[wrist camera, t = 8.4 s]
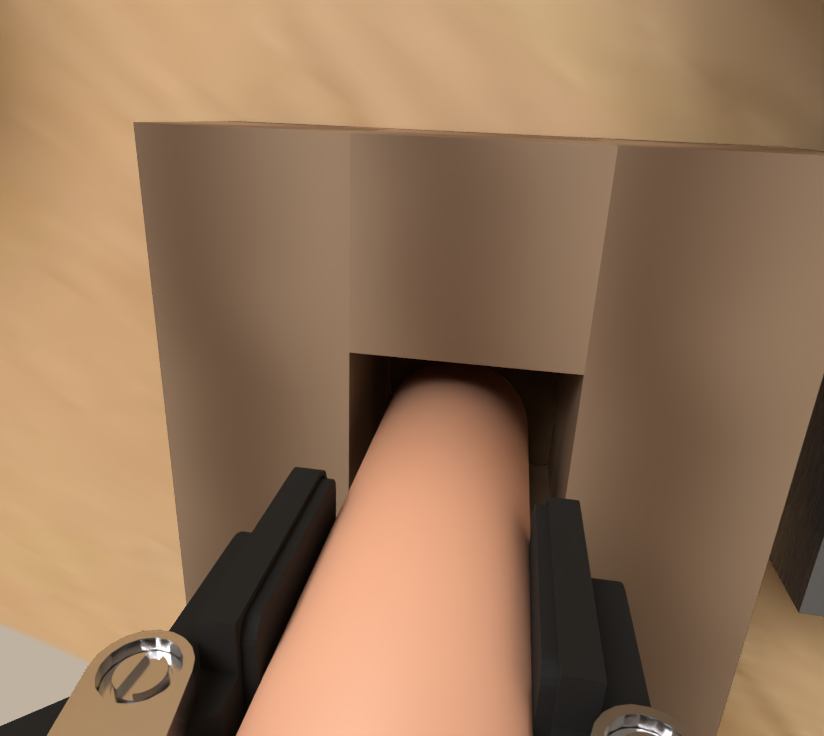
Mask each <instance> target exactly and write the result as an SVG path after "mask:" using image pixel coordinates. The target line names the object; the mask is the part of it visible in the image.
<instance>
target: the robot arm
mask: <svg viewBox="0 0 824 736" xmlns="http://www.w3.org/2000/svg"><path fill="white" fill-rule="evenodd" d="M335 520H336V482H335V480H334V479H329V478H327V475H326V472H325V470H319V469H311V468H302V467H294V469H293V470H292V471H291V473H290V474H289V476H288V477H287V479H286V480H285V482H284V483H283V485H282V487H281V488H280V490H279V491H278V493H277V494H276V496H275V497H274V499H273V500H272V502H271V503H270V505H269V507H268V508H267V510H266V511H265V513H264V514H263V516H262V517H261V519H260V520H259V522H258V524H257V525H256V527H255V528H254V530H253V531H252V532H245V531H241V532H238V533H237V534H236V535H235V536H234V537H233V538H232V540H231V541H230V543H229V544H228V546H227V547H226V549H225V550H224V552H223V553H222V554H221V556H220V557H219V559H218V560H217V562H216V563H215V565H214V566H213V568H212V569H211V570H210V572H209V573H208V575H207V576H206V578H205V579H204V581H203V582H202V584H201V585H200V587H199V588H198V589H197V591H196V592H195V594H194V595H193V597H192V598H191V600H190V601H189V603H188V604H187V605H186V607H185V608H184V610H183V611H182V613H181V614H180V616H179V617H178V619H177V620H176V622H175V623H174V624H173V626H172V627H171V629H170V630H169V631H163V630H151V631H142V632H138V633H135V634H131V635H128V636H125V637H123V638H121V639H119V640H118V641H116V642H114V643H112V644H110V645H109V646H108V647H106V648H105V649H104V650H102V651H101V652H100V653H99V654H97V656H96V657H95V658H94V659H93V661H92V662H91V663H90V664H89V666H88V667H87V669H86V670H85V672H84V674H83V675H82V677H81V679H80V680H79V682H78V684H77V685H76V687H75V689H74V691H73V692H72V694H71V696H70V697H68V698H65V699H63V700H61V701H58V702H56V703H54V704H51V705H49V706H47V707H44V708H42V709H40V710H37V711H35V712H33V713H30V714H28V715H26V716H23V717H21V718H19V719H16V720H14V721H11V722H9V723H7V724H4V725H2V726H0V736H236V735H237V732H238V730H239V728H240V726H241V724H242V722H243V719H244V717H245V715H246V713H247V711H248V709H249V706H250V704H251V702H252V700H253V698H254V696H255V693H256V691H257V689H258V687H259V685H260V683H261V680H262V678H263V676H264V674H265V672H266V670H267V667H268V665H269V663H270V661H271V659H272V657H273V654H274V652H275V650H276V648H277V646H278V644H279V641H280V639H281V637H282V635H283V633H284V631H285V628H286V626H287V624H288V622H289V620H290V618H291V615H292V613H293V611H294V609H295V607H296V605H297V602H298V600H299V598H300V596H301V594H302V592H303V589H304V587H305V585H306V583H307V581H308V579H309V576H310V574H311V572H312V570H313V568H314V566H315V563H316V561H317V559H318V557H319V555H320V553H321V550H322V548H323V546H324V544H325V542H326V539H327V537H328V535H329V533H330V531H331V529H332V526H333V524H334V522H335ZM529 563H530V617H531V672H532V726H533V736H694V735H693V734H692V733H691V732H690V731H689V730H688V729H687V728H686V727H685V726H684V725H683V724H681V723H680V722H678V721H677V720H675V719H674V718H672V717H671V716H669V715H668V714H666V713H663V712H661V711H658V710H656V709H653V708H651V704H650V700H649V695H648V691H647V686H646V681H645V677H644V672H643V668H642V663H641V659H640V654H639V650H638V645H637V641H636V636H635V632H634V627H633V622H632V618H631V613H630V609H629V604H628V600H627V595H626V591H625V588H624V584H623V583H622V582H619V581H612V580H604V579H597V578H591V573H590V566H589V559H588V553H587V546H586V540H585V533H584V527H583V520H582V513H581V507H580V502H579V500H572V499H564V498H556V497H547V500H546V505H545V504H537V503H535V505H534V511H533V519H532V526H531V534H530V542H529Z"/></svg>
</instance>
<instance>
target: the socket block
mask: <svg viewBox="0 0 824 736" xmlns="http://www.w3.org/2000/svg"><path fill="white" fill-rule="evenodd" d="M133 123H134V132H135V141H136V150H137V159H138V168H139V177H140V186H141V195H142V205H143V214H144V223H145V232H146V241H147V250H148V259H149V268H150V277H151V286H152V295H153V304H154V313H155V322H156V331H157V340H158V349H159V358H160V367H161V376H162V385H163V394H164V404H165V413H166V422H167V431H168V440H169V449H170V458H171V467H172V476H173V485H174V494H175V503H176V512H177V521H178V530H179V539H180V548H181V557H182V566H183V575H184V584H185V593H186V603H187V604H188V603H189V601H190V600H191V598H192V597H193V595H194V594H195V592H196V591H197V589H198V588H199V587H200V585H201V584H202V582H203V581H204V579H205V578H206V576H207V575H208V573H209V572H210V570H211V569H212V568H213V566H214V565H215V563H216V562H217V560H218V559H219V557H220V556H221V554H222V553H223V552H224V550H225V549H226V547H227V546H228V544H229V543H230V541H231V540H232V538H233V537H234V536H235V535H236V534H237V533H238V532H241V531H245V532H252V531H253V530H254V528H255V527H256V525H257V524H258V522H259V520H260V519H261V517H262V516H263V514H264V513H265V511H266V510H267V508H268V507H269V505H270V503H271V502H272V500H273V499H274V497H275V496H276V494H277V493H278V491H279V490H280V488H281V487H282V485H283V483H284V482H285V480H286V479H287V477H288V476H289V474H290V473H291V471H292V470H293V469H294V467H302V468H311V469H319V470H325V472H326V475H327V478H329V479H334V480H335V482H336V518H337V516H338V513H339V511H340V509H341V507H342V505H343V503H344V500H345V498H346V496H347V494H348V492H349V490H350V487H351V485H352V483H353V481H354V479H355V477H356V474H357V472H358V470H359V468H360V466H361V464H362V461H363V459H364V457H365V455H366V453H367V451H368V448H369V446H370V444H371V442H372V440H373V438H374V435H375V433H376V431H377V429H378V427H379V425H380V422H381V420H382V418H383V416H384V414H385V412H386V409H387V407H388V405H389V403H390V372H391V357H402V358H412V359H422V360H433V361H443V362H454V363H464V364H474V365H485V366H495V367H506V368H516V369H526V370H537V371H547V372H558V373H560V380H559V388H558V395H557V403H556V410H555V417H554V425H553V432H552V440H551V447H550V454H549V462H548V466H543V465H535V464H529V502H530V534H531V526H532V519H533V511H534V505H535V503H537V504H545V505H546V500H547V497H556V498H564V499H572V500H579V502H580V507H581V513H582V520H583V527H584V533H585V540H586V546H587V553H588V559H589V566H590V573H591V578H597V579H604V580H612V581H619V582H622V583H623V584H624V588H625V591H626V595H627V600H628V604H629V609H630V613H631V618H632V622H633V627H634V632H635V636H636V641H637V645H638V650H639V654H640V659H641V663H642V668H643V672H644V677H645V681H646V686H647V691H648V695H649V700H650V704H651V708H653V709H656V710H658V711H661V712H663V713H666V714H668V715H669V716H671V717H672V718H674V719H675V720H677V721H678V722H680V723H681V724H683V725H684V726H685V727H686V728H687V729H688V730H689V731H690V732H691V733H692V734H693V735H694V736H716V735H717V731H718V728H719V725H720V721H721V718H722V715H723V711H724V708H725V705H726V701H727V698H728V694H729V691H730V688H731V684H732V681H733V678H734V674H735V671H736V667H737V664H738V661H739V657H740V654H741V651H742V647H743V644H744V640H745V637H746V634H747V630H748V627H749V624H750V620H751V617H752V614H753V610H754V607H755V603H756V600H757V597H758V593H759V590H760V587H761V583H762V580H763V576H764V573H765V570H766V566H767V563H768V560H769V556H770V553H771V549H772V546H773V543H774V539H775V536H776V533H777V529H778V526H779V523H780V519H781V516H782V512H783V509H784V506H785V502H786V499H787V496H788V492H789V489H790V485H791V482H792V479H793V475H794V472H795V469H796V465H797V462H798V459H799V455H800V452H801V448H802V445H803V442H804V438H805V435H806V432H807V428H808V425H809V421H810V418H811V415H812V411H813V408H814V405H815V401H816V398H817V394H818V391H819V388H820V384H821V381H822V378H823V374H824V152H823V151H814V150H805V149H796V148H787V147H773V146H752V145H731V144H710V143H688V142H667V141H646V140H624V139H603V138H582V137H561V136H539V135H518V134H497V133H476V132H454V131H433V130H412V129H390V128H369V127H348V126H327V125H305V124H284V123H263V122H242V121H212V122H133Z"/></svg>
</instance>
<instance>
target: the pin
mask: <svg viewBox="0 0 824 736" xmlns="http://www.w3.org/2000/svg"><path fill="white" fill-rule="evenodd" d="M529 542H530V502H529V455H528V422H527V415H526V411H525V408H524V405H523V403H522V400H521V399H520V397H519V395H518V393H517V392H516V391H515V389H514V388H513V387H512V385H511V384H510V383H509V382H508V381H507V380H505V379H504V378H503V377H502V376H500V375H499V374H498V373H496V372H495V371H493V370H491V369H489V368H487V367H485V366H482V365H474V364H464V363H454V362H443V361H440V362H435V363H432V364H429V365H426V366H424V367H422V368H420V369H418V370H416V371H415V372H413V373H412V374H410V375H409V376H408V377H407V378H406V379H405V380H404V381H403V382H402V383H401V384H400V385H399V387H398V388H397V389H396V391H395V393H394V394H393V396H392V399H391V401H390V403H389V405H388V407H387V409H386V412H385V414H384V416H383V418H382V420H381V422H380V425H379V427H378V429H377V431H376V433H375V435H374V438H373V440H372V442H371V444H370V446H369V448H368V451H367V453H366V455H365V457H364V459H363V461H362V464H361V466H360V468H359V470H358V472H357V474H356V477H355V479H354V481H353V483H352V485H351V487H350V490H349V492H348V494H347V496H346V498H345V500H344V503H343V505H342V507H341V509H340V511H339V513H338V516H337V518H336V520H335V522H334V524H333V526H332V529H331V531H330V533H329V535H328V537H327V539H326V542H325V544H324V546H323V548H322V550H321V553H320V555H319V557H318V559H317V561H316V563H315V566H314V568H313V570H312V572H311V574H310V576H309V579H308V581H307V583H306V585H305V587H304V589H303V592H302V594H301V596H300V598H299V600H298V602H297V605H296V607H295V609H294V611H293V613H292V615H291V618H290V620H289V622H288V624H287V626H286V628H285V631H284V633H283V635H282V637H281V639H280V641H279V644H278V646H277V648H276V650H275V652H274V654H273V657H272V659H271V661H270V663H269V665H268V667H267V670H266V672H265V674H264V676H263V678H262V680H261V683H260V685H259V687H258V689H257V691H256V693H255V696H254V698H253V700H252V702H251V704H250V706H249V709H248V711H247V713H246V715H245V717H244V719H243V722H242V724H241V726H240V728H239V730H238V732H237V735H236V736H533V726H532V672H531V617H530V563H529Z"/></svg>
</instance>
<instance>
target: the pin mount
mask: <svg viewBox="0 0 824 736" xmlns="http://www.w3.org/2000/svg"><path fill="white" fill-rule="evenodd" d="M769 560H770V561H771V563H772V565H773V567H774V569H775V570H776V572H777V574H778V576H779V578H780V579H781V581H782V583H783V585H784V587H785V589H786V590H787V592H788V594H789V596H790V598H791V599H792V601H793V603H794V605H795V607H796V608H797V610H798V612H799V613H804V614H812V615H819V616H824V374H823V378H822V381H821V384H820V388H819V391H818V394H817V398H816V401H815V405H814V408H813V411H812V415H811V418H810V421H809V425H808V428H807V432H806V435H805V438H804V442H803V445H802V448H801V452H800V455H799V459H798V462H797V465H796V469H795V472H794V475H793V479H792V482H791V485H790V489H789V492H788V496H787V499H786V502H785V506H784V509H783V512H782V516H781V519H780V523H779V526H778V529H777V533H776V536H775V539H774V543H773V546H772V549H771V553H770V556H769Z"/></svg>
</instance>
